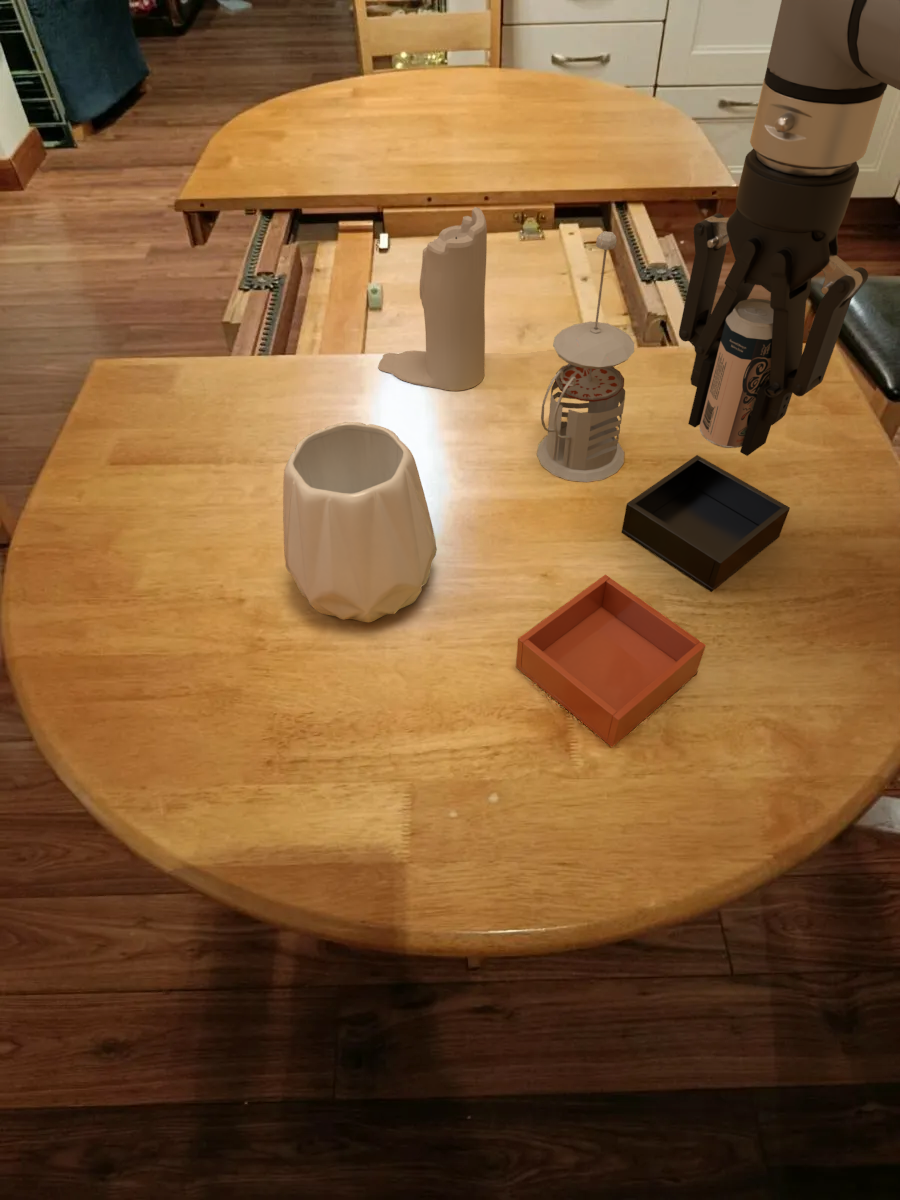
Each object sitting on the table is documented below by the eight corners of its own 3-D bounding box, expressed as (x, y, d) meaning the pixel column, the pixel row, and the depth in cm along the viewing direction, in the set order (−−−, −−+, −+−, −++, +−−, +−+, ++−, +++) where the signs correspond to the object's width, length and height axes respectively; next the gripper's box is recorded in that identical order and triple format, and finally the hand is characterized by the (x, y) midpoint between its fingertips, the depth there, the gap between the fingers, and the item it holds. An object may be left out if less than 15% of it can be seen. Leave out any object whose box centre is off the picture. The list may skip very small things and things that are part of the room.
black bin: (779, 537, 85) (790, 507, 82) (711, 592, 81) (720, 563, 78) (689, 484, 91) (697, 454, 88) (621, 532, 86) (626, 503, 83)
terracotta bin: (696, 673, 74) (706, 645, 71) (612, 747, 69) (618, 720, 66) (600, 603, 80) (605, 574, 77) (515, 667, 75) (517, 638, 72)
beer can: (743, 458, 73) (781, 333, 64) (690, 441, 75) (720, 316, 66) (760, 429, 76) (799, 305, 67) (709, 413, 77) (740, 289, 68)
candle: (389, 346, 110) (377, 188, 95) (491, 364, 107) (495, 203, 92) (368, 376, 106) (352, 215, 91) (474, 395, 103) (475, 232, 88)
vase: (330, 659, 76) (306, 536, 65) (269, 563, 84) (238, 439, 73) (464, 598, 81) (463, 474, 69) (394, 513, 89) (383, 389, 77)
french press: (642, 451, 95) (684, 230, 76) (578, 502, 89) (607, 277, 71) (572, 416, 100) (596, 199, 81) (508, 463, 94) (517, 241, 75)
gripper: (664, 133, 61) (621, 406, 78) (898, 212, 52) (789, 501, 69) (727, 107, 64) (672, 375, 81) (957, 177, 55) (840, 461, 72)
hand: (726, 432), depth 75 cm, fingers closed on beer can, 5 cm apart
